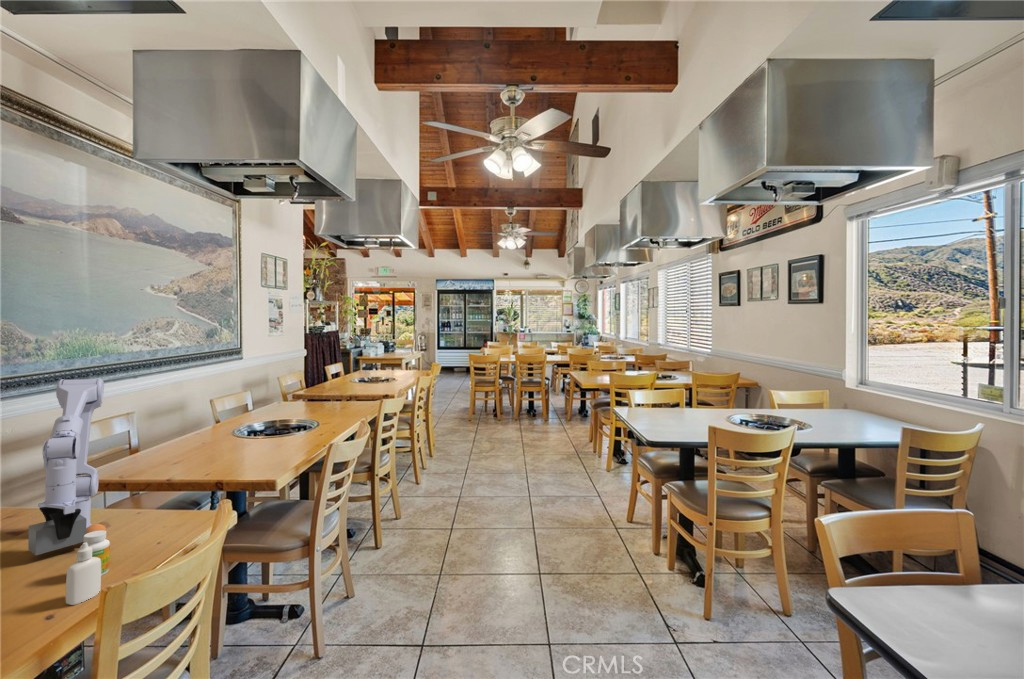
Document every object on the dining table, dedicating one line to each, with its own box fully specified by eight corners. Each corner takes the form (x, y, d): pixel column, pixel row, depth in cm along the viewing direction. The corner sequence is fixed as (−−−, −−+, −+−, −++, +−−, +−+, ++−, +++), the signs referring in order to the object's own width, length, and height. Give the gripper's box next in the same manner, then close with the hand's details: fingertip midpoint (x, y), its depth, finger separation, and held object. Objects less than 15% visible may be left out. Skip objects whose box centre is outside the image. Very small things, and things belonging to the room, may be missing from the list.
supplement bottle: (90, 581, 105) (91, 539, 105) (72, 578, 106) (73, 537, 106) (115, 570, 110) (116, 530, 110) (97, 567, 111) (98, 527, 111)
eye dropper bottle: (64, 599, 97) (66, 544, 98) (99, 589, 102) (101, 536, 102) (66, 608, 95) (67, 550, 95) (102, 597, 99) (103, 542, 99)
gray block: (28, 549, 115) (28, 525, 115) (78, 535, 124) (78, 513, 123) (35, 555, 112) (35, 531, 112) (86, 540, 120) (86, 518, 120)
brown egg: (76, 529, 123) (99, 518, 127) (82, 544, 124) (105, 533, 128) (83, 533, 120) (106, 522, 124) (89, 549, 121) (112, 538, 126)
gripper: (30, 481, 119) (29, 533, 118) (48, 492, 111) (47, 548, 111) (67, 475, 125) (65, 524, 125) (86, 485, 117) (85, 537, 117)
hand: (59, 535), depth 118 cm, fingers closed on gray block, 6 cm apart
